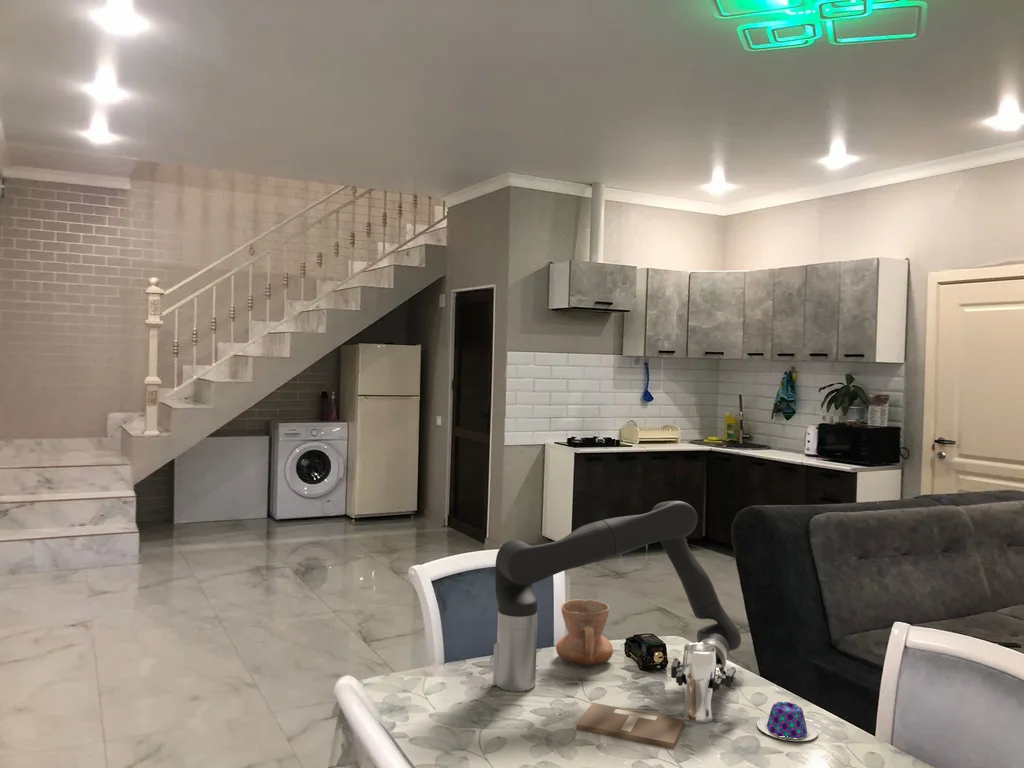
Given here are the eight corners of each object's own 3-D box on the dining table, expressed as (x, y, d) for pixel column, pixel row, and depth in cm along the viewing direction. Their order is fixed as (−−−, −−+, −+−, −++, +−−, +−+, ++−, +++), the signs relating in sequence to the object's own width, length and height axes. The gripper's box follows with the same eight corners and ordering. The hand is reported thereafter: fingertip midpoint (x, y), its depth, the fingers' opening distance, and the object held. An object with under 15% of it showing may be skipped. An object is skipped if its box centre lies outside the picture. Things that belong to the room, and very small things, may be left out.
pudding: (824, 747, 159) (825, 720, 159) (762, 742, 161) (763, 716, 161) (809, 721, 171) (810, 697, 171) (752, 717, 173) (752, 693, 173)
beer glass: (715, 726, 167) (717, 654, 167) (681, 722, 168) (683, 651, 168) (713, 712, 174) (715, 644, 173) (681, 709, 175) (682, 641, 175)
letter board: (576, 728, 164) (576, 723, 164) (592, 707, 175) (592, 702, 175) (673, 748, 156) (673, 742, 156) (684, 724, 167) (684, 719, 167)
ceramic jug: (554, 648, 213) (555, 595, 212) (609, 649, 212) (610, 596, 212) (557, 674, 195) (558, 617, 194) (617, 676, 194) (618, 618, 194)
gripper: (677, 638, 187) (663, 661, 171) (741, 647, 181) (732, 671, 166) (676, 670, 187) (662, 695, 171) (740, 680, 181) (731, 707, 166)
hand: (697, 684), depth 169 cm, fingers closed on beer glass, 6 cm apart
